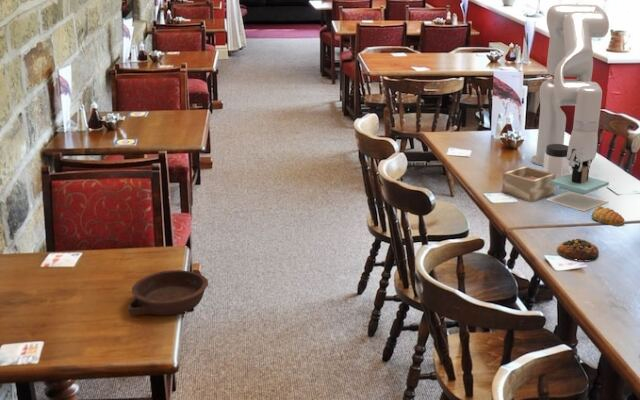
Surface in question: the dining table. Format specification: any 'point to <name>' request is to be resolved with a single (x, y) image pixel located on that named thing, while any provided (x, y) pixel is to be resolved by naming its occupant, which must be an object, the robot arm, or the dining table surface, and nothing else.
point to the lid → (581, 187)
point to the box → (528, 183)
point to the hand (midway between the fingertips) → (579, 180)
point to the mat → (577, 201)
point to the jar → (556, 160)
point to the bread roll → (578, 250)
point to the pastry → (607, 216)
